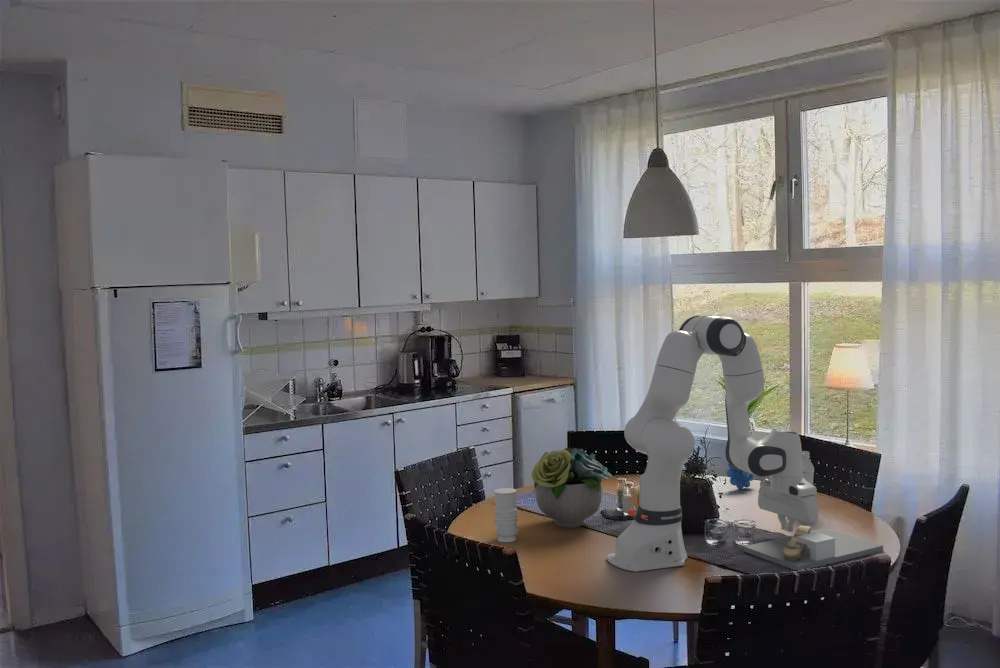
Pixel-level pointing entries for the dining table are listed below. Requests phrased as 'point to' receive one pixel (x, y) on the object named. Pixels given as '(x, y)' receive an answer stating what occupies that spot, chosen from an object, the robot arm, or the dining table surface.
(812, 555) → the base
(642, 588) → the dining table surface
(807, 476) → the plastic bottle
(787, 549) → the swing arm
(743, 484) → the grapes
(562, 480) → the flower arrangement
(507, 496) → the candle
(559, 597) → the dining table surface
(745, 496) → the dining table surface
